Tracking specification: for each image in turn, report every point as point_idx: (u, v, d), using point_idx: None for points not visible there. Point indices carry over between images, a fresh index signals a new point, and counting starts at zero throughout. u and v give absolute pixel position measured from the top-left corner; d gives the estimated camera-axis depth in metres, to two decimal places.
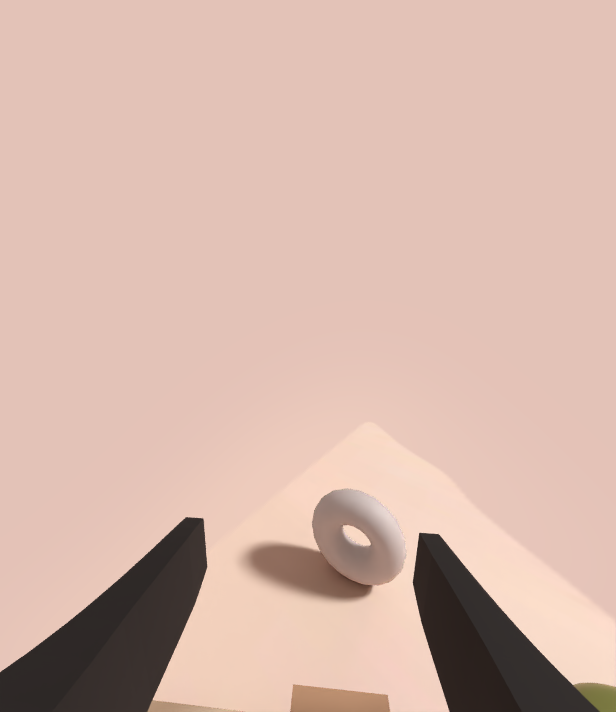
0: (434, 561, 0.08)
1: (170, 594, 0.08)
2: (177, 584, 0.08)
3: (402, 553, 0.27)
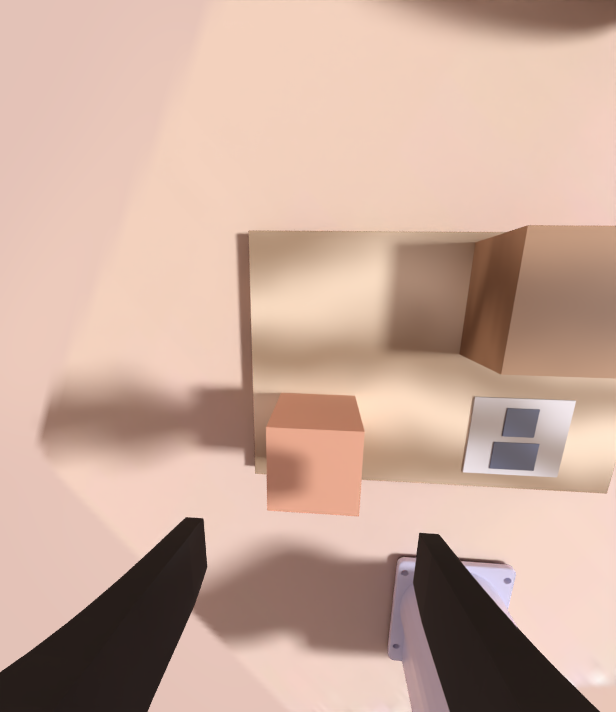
0: (434, 561, 0.08)
1: (170, 594, 0.08)
2: (177, 584, 0.08)
3: None
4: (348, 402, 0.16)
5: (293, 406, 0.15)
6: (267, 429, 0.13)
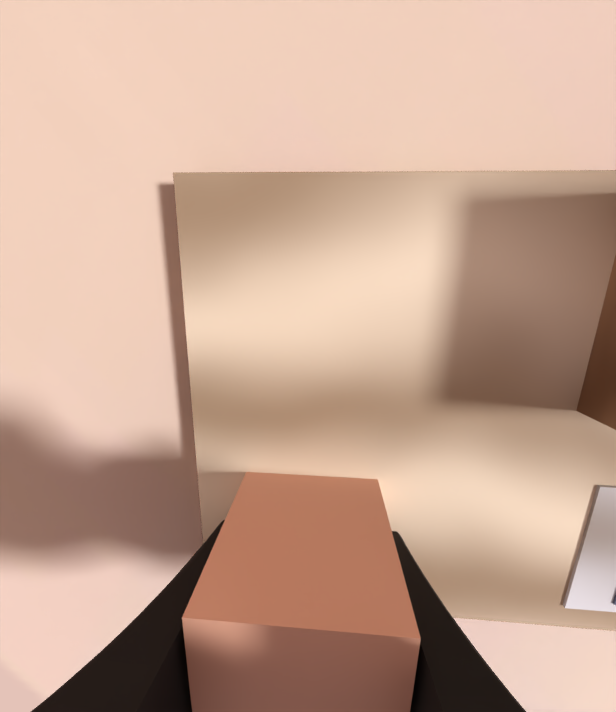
0: None
1: None
2: None
3: None
4: (368, 502, 0.09)
5: (261, 518, 0.08)
6: (186, 621, 0.06)
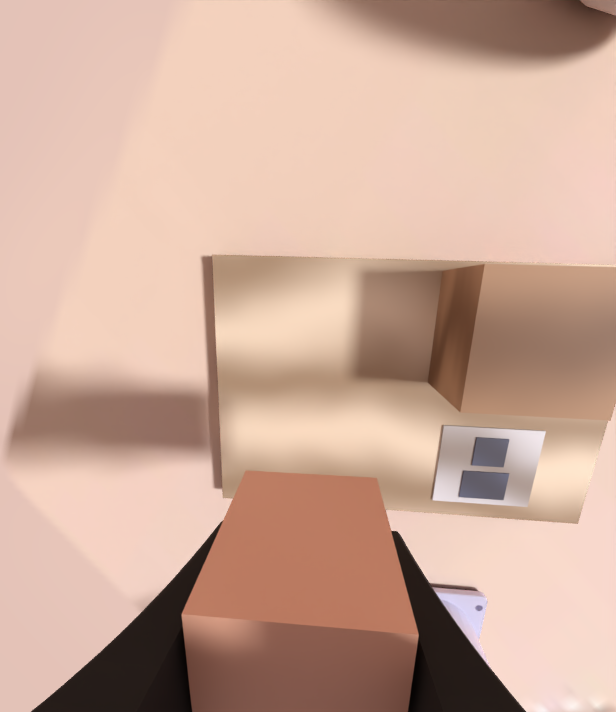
0: None
1: None
2: None
3: None
4: (367, 500, 0.09)
5: (260, 516, 0.08)
6: (185, 617, 0.06)
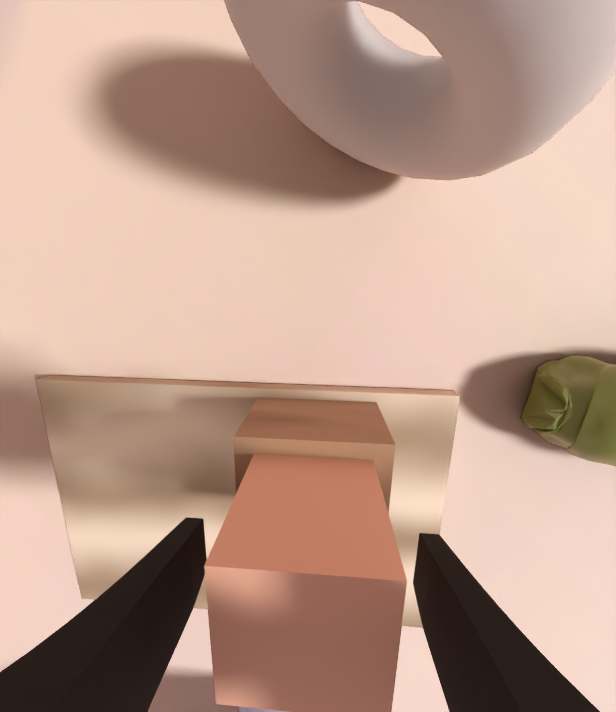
0: (434, 561, 0.08)
1: (170, 594, 0.08)
2: (177, 584, 0.08)
3: (562, 126, 0.07)
4: (364, 478, 0.09)
5: (269, 490, 0.09)
6: (208, 569, 0.06)
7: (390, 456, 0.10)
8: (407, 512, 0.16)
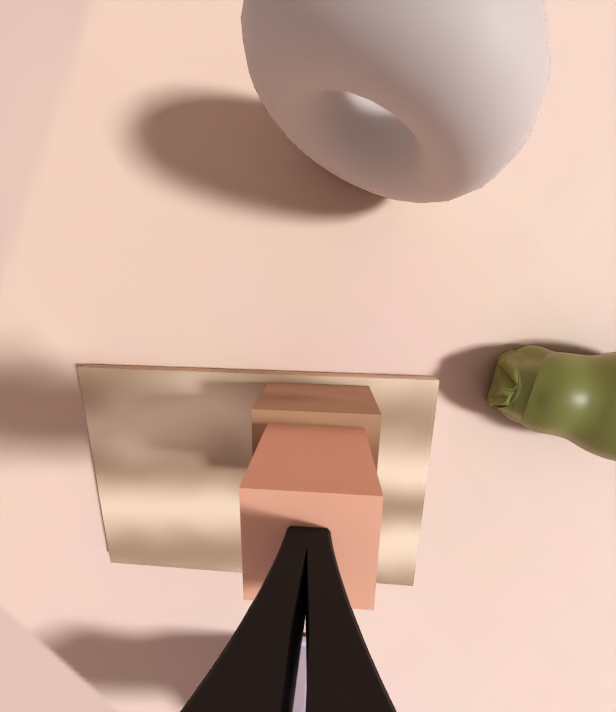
0: (306, 552, 0.08)
1: (300, 605, 0.07)
2: (302, 594, 0.08)
3: (500, 170, 0.10)
4: (356, 439, 0.12)
5: (281, 446, 0.11)
6: (241, 490, 0.09)
7: (377, 424, 0.13)
8: (396, 482, 0.18)
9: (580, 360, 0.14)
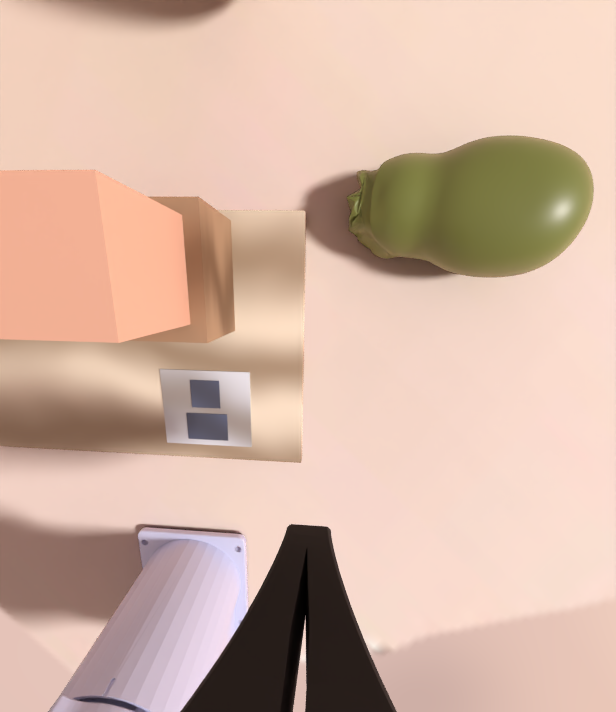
0: (306, 552, 0.08)
1: (300, 605, 0.07)
2: (302, 594, 0.08)
3: None
4: None
5: None
6: None
7: (196, 210, 0.12)
8: (271, 337, 0.17)
9: None
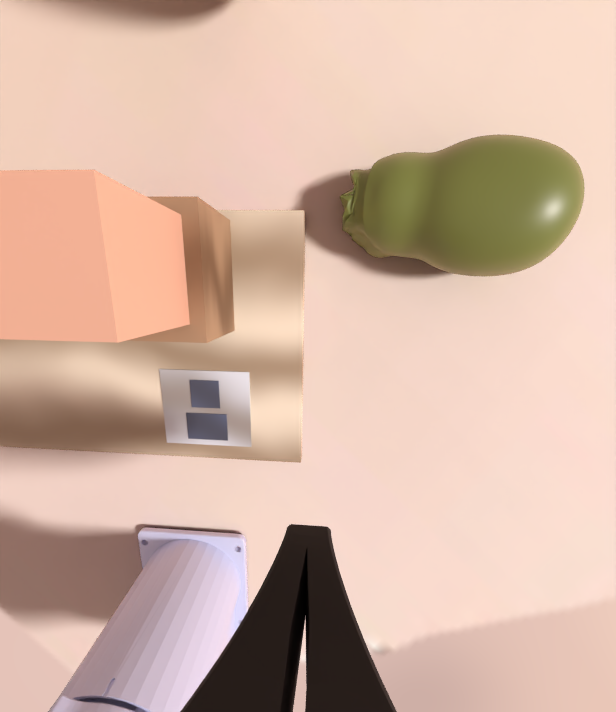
0: (306, 552, 0.08)
1: (300, 605, 0.07)
2: (302, 594, 0.08)
3: None
4: None
5: None
6: None
7: (195, 210, 0.12)
8: (270, 337, 0.17)
9: (421, 153, 0.13)
